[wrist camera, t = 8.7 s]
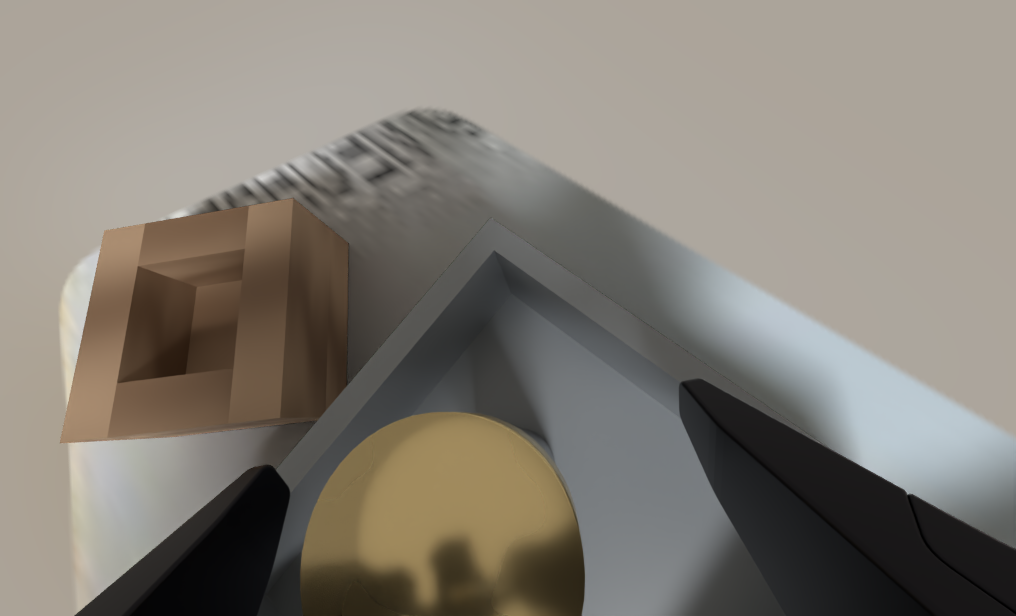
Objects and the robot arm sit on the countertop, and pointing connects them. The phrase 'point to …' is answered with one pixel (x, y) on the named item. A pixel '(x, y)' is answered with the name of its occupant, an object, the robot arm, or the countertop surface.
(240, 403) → the socket block
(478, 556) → the pin
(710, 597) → the tray
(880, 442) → the countertop surface
